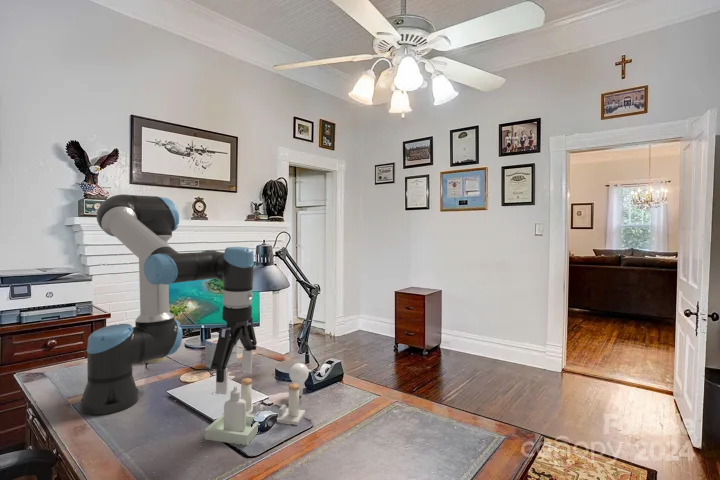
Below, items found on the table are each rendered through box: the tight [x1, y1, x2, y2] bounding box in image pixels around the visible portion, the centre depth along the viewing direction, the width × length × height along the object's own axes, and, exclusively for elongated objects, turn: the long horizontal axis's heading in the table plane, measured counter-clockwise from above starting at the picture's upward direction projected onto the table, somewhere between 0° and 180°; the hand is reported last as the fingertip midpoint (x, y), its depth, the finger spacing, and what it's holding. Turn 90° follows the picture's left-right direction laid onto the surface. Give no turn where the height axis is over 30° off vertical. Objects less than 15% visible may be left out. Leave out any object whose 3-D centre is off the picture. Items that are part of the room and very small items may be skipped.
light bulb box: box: [204, 336, 238, 371], centre depth 154 cm, size 11×7×11 cm, turn 144°
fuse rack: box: [240, 377, 306, 426], centre depth 116 cm, size 20×7×10 cm, turn 79°
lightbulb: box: [288, 362, 310, 398], centre depth 128 cm, size 6×6×11 cm
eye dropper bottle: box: [223, 385, 246, 432], centre depth 106 cm, size 4×6×12 cm
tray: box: [204, 412, 259, 446], centre depth 106 cm, size 12×10×3 cm
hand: (234, 382), depth 106 cm, fingers open, 13 cm apart
